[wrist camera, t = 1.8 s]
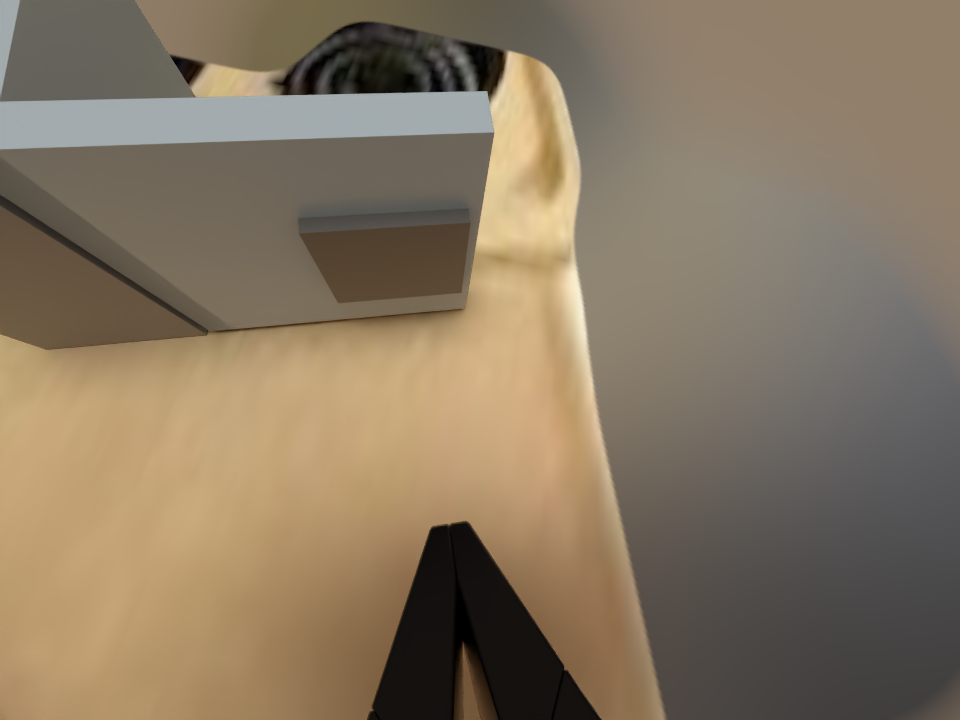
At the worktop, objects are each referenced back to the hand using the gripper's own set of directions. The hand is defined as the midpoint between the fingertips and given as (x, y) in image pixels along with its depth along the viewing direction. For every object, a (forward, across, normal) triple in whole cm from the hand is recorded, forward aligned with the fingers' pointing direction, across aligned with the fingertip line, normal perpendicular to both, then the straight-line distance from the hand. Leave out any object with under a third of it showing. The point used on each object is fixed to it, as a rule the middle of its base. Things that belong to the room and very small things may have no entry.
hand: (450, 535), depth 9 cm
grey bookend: (+20, +4, -2) cm, 21 cm away
